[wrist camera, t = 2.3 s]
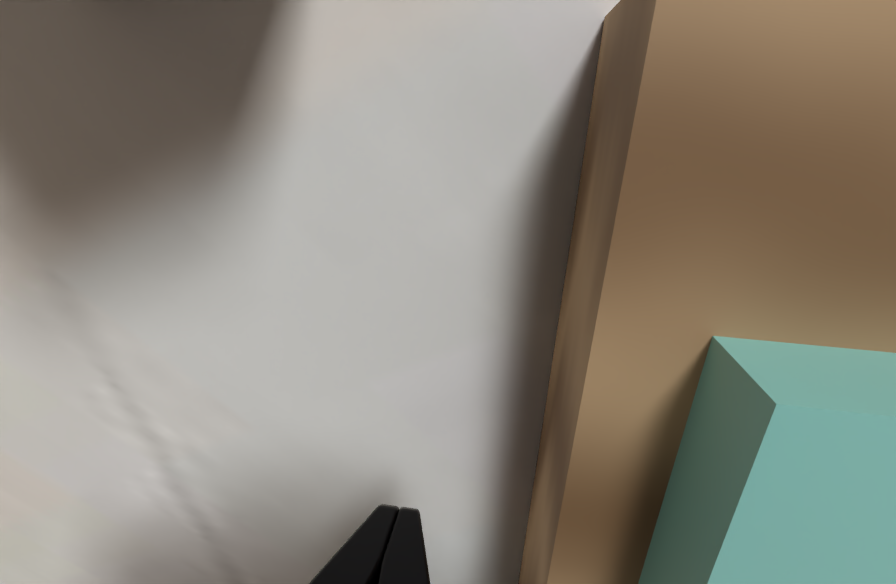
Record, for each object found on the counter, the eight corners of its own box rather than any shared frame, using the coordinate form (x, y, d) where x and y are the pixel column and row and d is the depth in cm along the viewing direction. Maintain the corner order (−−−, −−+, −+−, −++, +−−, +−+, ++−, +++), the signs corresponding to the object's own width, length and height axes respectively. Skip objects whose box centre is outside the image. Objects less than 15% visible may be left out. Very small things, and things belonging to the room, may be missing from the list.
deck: (820, 668, 16) (914, 835, 12) (513, 618, 17) (514, 757, 13) (1193, 31, 8) (1726, -37, 5) (605, 17, 10) (664, -47, 6)
